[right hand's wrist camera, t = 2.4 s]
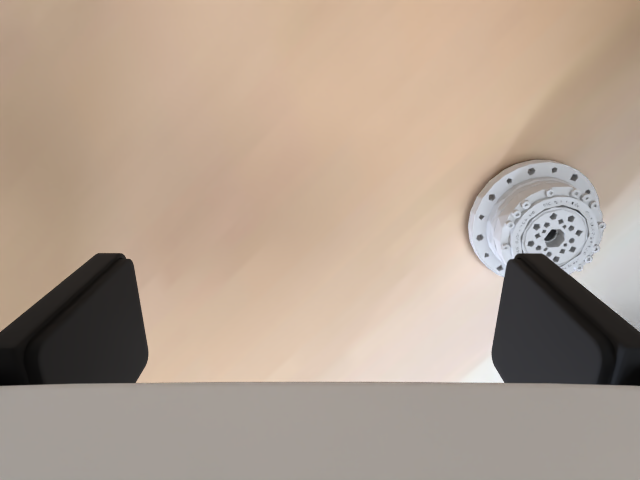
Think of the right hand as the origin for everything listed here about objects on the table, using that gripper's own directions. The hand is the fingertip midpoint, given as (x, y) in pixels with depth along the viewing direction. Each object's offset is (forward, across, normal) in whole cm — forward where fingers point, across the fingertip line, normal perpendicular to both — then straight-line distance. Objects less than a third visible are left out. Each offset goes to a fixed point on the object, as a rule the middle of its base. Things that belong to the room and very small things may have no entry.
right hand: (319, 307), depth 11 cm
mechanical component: (+24, -17, +6) cm, 30 cm away
